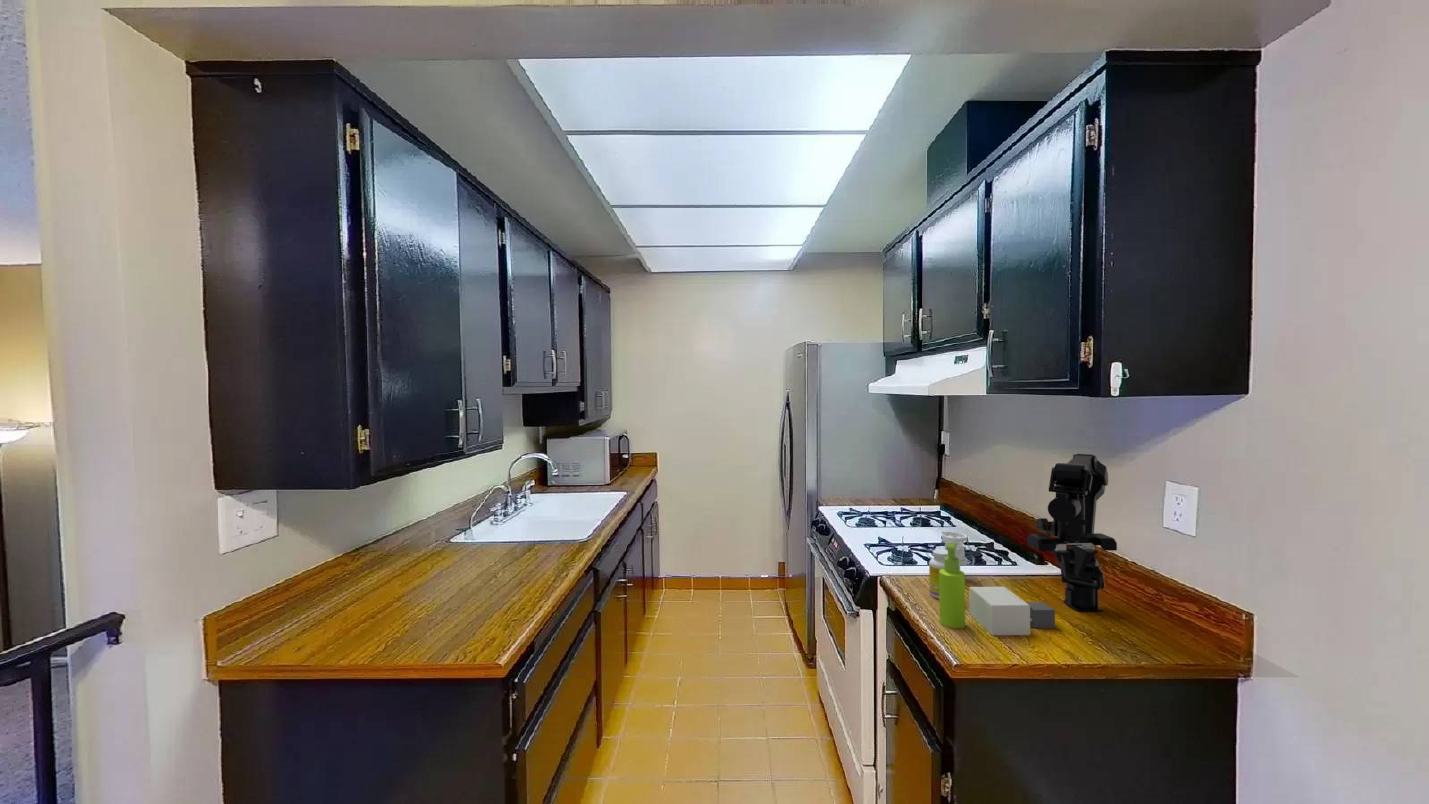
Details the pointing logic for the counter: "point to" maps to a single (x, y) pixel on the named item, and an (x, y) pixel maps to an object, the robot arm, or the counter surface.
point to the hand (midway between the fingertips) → (1071, 576)
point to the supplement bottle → (936, 571)
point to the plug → (1041, 615)
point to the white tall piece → (959, 547)
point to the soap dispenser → (952, 591)
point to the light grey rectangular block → (999, 611)
